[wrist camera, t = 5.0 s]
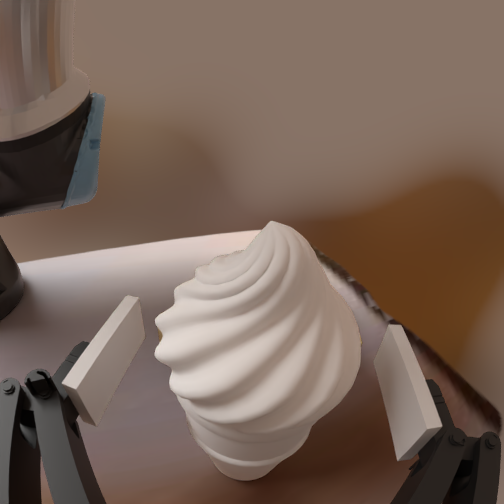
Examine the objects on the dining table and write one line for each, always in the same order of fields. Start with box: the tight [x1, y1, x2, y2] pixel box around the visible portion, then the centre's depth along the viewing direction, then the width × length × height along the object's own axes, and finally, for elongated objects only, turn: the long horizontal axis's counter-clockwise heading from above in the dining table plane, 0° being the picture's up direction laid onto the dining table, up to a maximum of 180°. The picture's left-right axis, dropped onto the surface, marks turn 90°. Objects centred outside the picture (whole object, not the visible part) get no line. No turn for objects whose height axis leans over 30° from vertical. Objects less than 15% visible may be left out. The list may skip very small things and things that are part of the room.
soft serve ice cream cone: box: [155, 221, 361, 481], centre depth 13 cm, size 8×8×16 cm
